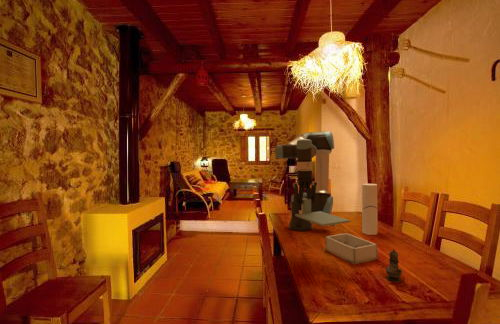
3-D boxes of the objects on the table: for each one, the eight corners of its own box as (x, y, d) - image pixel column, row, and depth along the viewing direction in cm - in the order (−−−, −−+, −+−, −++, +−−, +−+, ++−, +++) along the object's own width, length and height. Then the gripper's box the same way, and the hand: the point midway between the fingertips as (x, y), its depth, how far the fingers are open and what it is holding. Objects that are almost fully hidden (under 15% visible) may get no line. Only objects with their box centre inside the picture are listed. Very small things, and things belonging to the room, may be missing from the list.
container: (379, 235, 161) (378, 185, 160) (363, 234, 163) (363, 185, 162) (375, 231, 170) (375, 183, 169) (361, 230, 172) (360, 183, 171)
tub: (325, 250, 139) (325, 236, 139) (346, 245, 144) (346, 233, 144) (354, 264, 120) (353, 249, 120) (377, 259, 126) (377, 244, 126)
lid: (289, 216, 137) (289, 199, 136) (314, 213, 142) (314, 197, 142) (322, 229, 113) (321, 208, 112) (350, 225, 118) (350, 205, 118)
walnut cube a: (333, 249, 136) (333, 241, 136) (337, 247, 139) (337, 239, 139) (340, 251, 133) (340, 243, 133) (344, 249, 136) (344, 241, 136)
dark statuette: (382, 276, 109) (382, 246, 109) (396, 275, 110) (396, 246, 109) (391, 283, 103) (391, 252, 103) (405, 282, 104) (405, 251, 103)
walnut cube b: (355, 252, 131) (355, 244, 131) (363, 252, 131) (363, 244, 131) (358, 256, 127) (358, 247, 127) (367, 255, 127) (367, 247, 127)
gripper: (293, 171, 130) (294, 219, 130) (323, 169, 136) (323, 215, 137) (286, 170, 137) (286, 216, 137) (314, 169, 143) (314, 212, 144)
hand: (305, 215), depth 137 cm, fingers closed on lid, 4 cm apart
